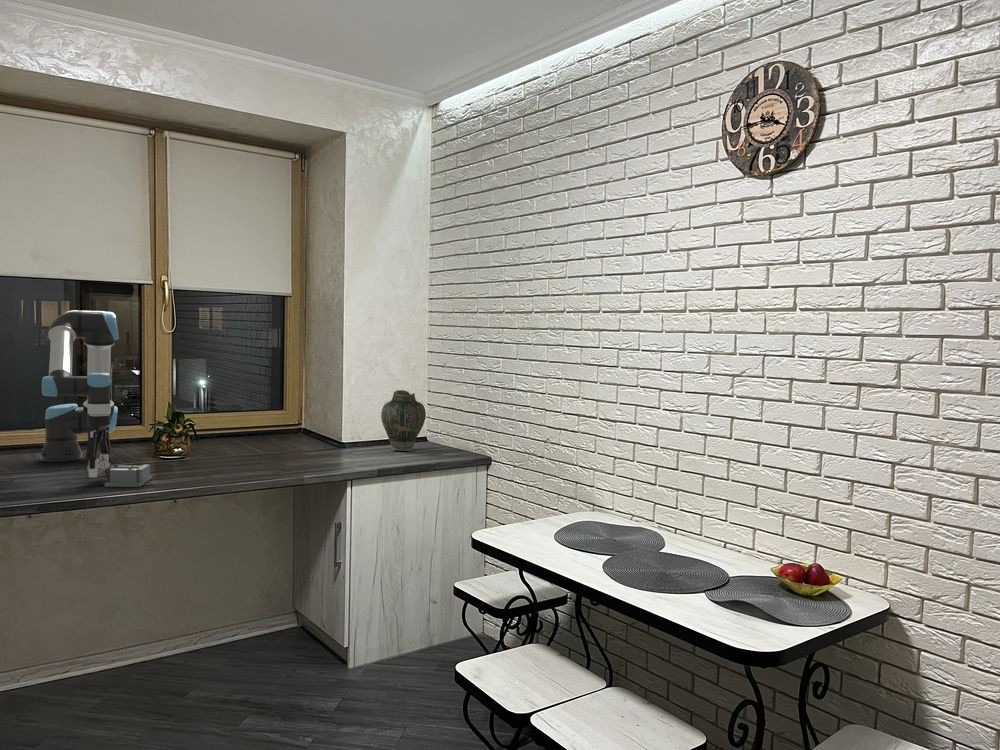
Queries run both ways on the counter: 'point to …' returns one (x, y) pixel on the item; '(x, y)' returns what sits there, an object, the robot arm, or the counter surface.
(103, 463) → the game die
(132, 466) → the block with dark end
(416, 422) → the vase
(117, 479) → the gauge housing
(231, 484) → the counter surface
